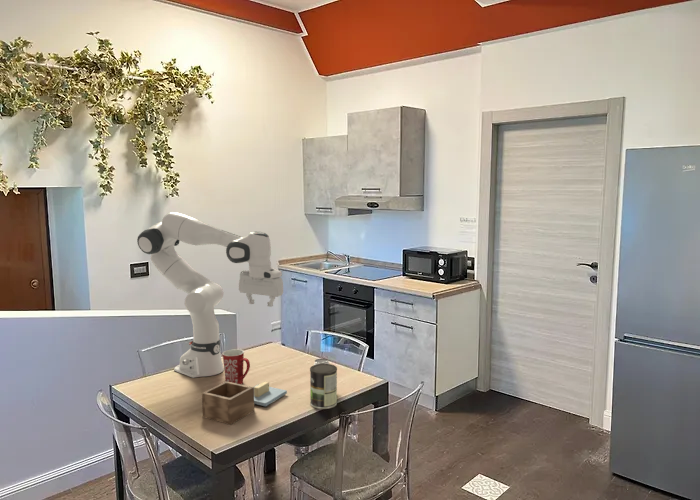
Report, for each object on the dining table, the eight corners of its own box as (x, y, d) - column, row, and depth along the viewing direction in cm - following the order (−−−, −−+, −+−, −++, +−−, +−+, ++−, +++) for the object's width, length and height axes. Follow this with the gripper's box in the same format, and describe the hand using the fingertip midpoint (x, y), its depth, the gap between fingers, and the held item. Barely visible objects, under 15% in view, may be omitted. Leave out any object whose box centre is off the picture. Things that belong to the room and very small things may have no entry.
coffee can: (310, 409, 196) (310, 373, 194) (310, 398, 206) (309, 363, 204) (338, 408, 196) (337, 372, 195) (336, 397, 207) (336, 363, 205)
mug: (218, 384, 220) (217, 353, 218) (233, 378, 228) (232, 347, 226) (241, 390, 213) (240, 358, 212) (256, 383, 221) (255, 352, 220)
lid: (236, 401, 203) (235, 387, 203) (258, 389, 216) (258, 376, 215) (265, 409, 197) (265, 394, 196) (286, 395, 209) (286, 382, 208)
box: (202, 417, 189) (201, 393, 188) (226, 403, 201) (226, 381, 200) (230, 424, 183) (230, 399, 182) (254, 410, 195) (253, 387, 194)
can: (327, 392, 212) (327, 363, 210) (312, 391, 213) (311, 362, 211) (331, 386, 218) (331, 358, 216) (316, 385, 219) (316, 357, 218)
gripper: (234, 270, 215) (235, 304, 217) (276, 274, 206) (276, 309, 208) (244, 268, 221) (245, 301, 223) (285, 272, 212) (285, 306, 213)
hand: (260, 305), depth 215 cm, fingers open, 8 cm apart
